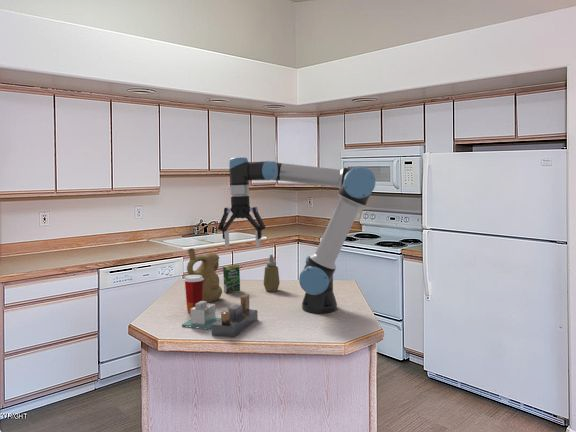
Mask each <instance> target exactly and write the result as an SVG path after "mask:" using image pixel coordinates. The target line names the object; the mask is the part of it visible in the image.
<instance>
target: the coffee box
mask: <svg viewBox="0 0 576 432" xmlns="http://www.w3.org/2000/svg"><path fill="white" fill-rule="evenodd" d="M222 272H223V273H222V274H223V293H226V294H228V293H235V292H240V291H241V276H240V274H241V273H240V265H239V264H233V265H232V264H231V265H226V266H225V265H224V266H223V267H222Z"/></svg>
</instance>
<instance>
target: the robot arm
mask: <svg viewBox="0 0 576 432" xmlns="http://www.w3.org/2000/svg"><path fill="white" fill-rule="evenodd" d="M228 167H229V169H228V170H229V182H230V183H229V185H230V195H231V197H230V205H231V207H229V206H228V207H224V209H223V214H222V217H221V219H220V221H219V223H218V227H217V230H218V231H221V232H222V239H223V240H224V247H225V248H229V247H230V233H229V232H230V231H229V230H228V229H229V227H231V225H232V224H233V222H234V221H235V219H246V220H247V221H248V222H249V223H250V224H251V225H252V226H253V228H254V229H255V230H256V231H255V232H254V233H255V234H254V235H255V236H254V237H255V248H260V247H261V242H260V241H261V239H262V237H263V236H262V235H263V234H262V231H263V230H266V225H265V223H264V221H263V219H262V217H261V216H260V213H259V212H258V210H259V209H258V207H257V206H253V207H251V206H250V196H249V195H250V189H249V188H250V182H249V181H252V182H253V181H277V182H278V181H281V182H286V183H287V182H289V183H297V184H305V185H306V184H307V185H315V186H320V187H321V186H322V187H329V188H338V189H339V191H338V198H339V201H338V202H337V204H336V207H335V209H334V211H333V214H332V215H331V218H330V219H329V222H328V224H327V226H326V228H325V230H324V233H323V235H322V237H321V239H320V242H319V243H318V246H317V248H316V250H315V253H312V254H310V255H307V257H306V258H305V265H304V268H303V269H302V270H301V272H300V274H299V278H298V279H299V280H298V282H299V285H300V288H301V289H302V290H303V291H304V292H305V293H304V295H303V296H304V297H303V300H302V302H301V303H302V304H301V308H302V310H303V311H305V312H308V313H313V314H328V313H333V312H335V311H337V310H338V303H337V300H336V296H335V294H334V274H335V271H336V269H337V265H336V260H337V258H338V255H339V253H340V251H341V250H342V248H343V245H344V243H345V241H346V239H347V237H348V235H349V233H350V230H351V228H352V226H353V224H354V221H355V220H356V218H357V215H358V213H359V211H360V209H361V208H363V207H366V205H367V203H368V201H369V199H370V197H371V195H372V192H373V191H374V189H375V187H376V177H375V174H374V173H373V171H372V170H370V169H369V168H368V167H365V166H355V167H343V168H341V169H340V168H328V167H320V166H319V167H318V166H311V165H310V166H309V165H302V164H294V163H293V164H292V163H285V162H284V163H281V162H276V161H274V160H266V161H264V160H262V161H248V158H247V157H232V158H230V159H229V166H228ZM250 212H252V213H253V216H254V217H255V218H253V216H252V215H251V213H250ZM230 213H232V214H231V216H230V218H229V219H228V217H229V214H230ZM227 219H228V220H227ZM255 219H256V220H255ZM226 221H227V222H226ZM256 221H257V222H256Z"/></svg>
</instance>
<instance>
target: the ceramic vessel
mask: <svg viewBox="0 0 576 432" xmlns="http://www.w3.org/2000/svg"><path fill="white" fill-rule="evenodd" d="M187 253H188V257H189V260H188V263H187V266H186V270H187V274H188V275H202V277H203V279H204V280H203V292H202V301H207V303H208V304H209V303H213V302H215V301H217V300H218V299H220V298H221V296H222V294H223V289H222V287H221V286H220V277H219V275H218V274H217V272H216V271H217V270H218V268H219V263H220V261H219V260H220V256H219V254H217V253H215V252H208V253H206V254H205V255H198V256H196V251H195V249H194V248H190V249H188V250H187ZM197 262H201V264H200V265H199V266H198V267H197V268H196V269H195V270H194V268H193V267H194V265H195V264H196V263H197Z"/></svg>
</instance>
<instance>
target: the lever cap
mask: <svg viewBox="0 0 576 432" xmlns="http://www.w3.org/2000/svg"><path fill="white" fill-rule="evenodd" d="M190 311H191V313H190V320H191V324H194V325H203V326H205V325H207V324H208V323H210V322H211V321H213V320H215V319H216V318H217V317H216V303H209V302H208V303H207V301H200V302H198V303H196V304H195V307H193V308H191V309H190Z"/></svg>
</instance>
